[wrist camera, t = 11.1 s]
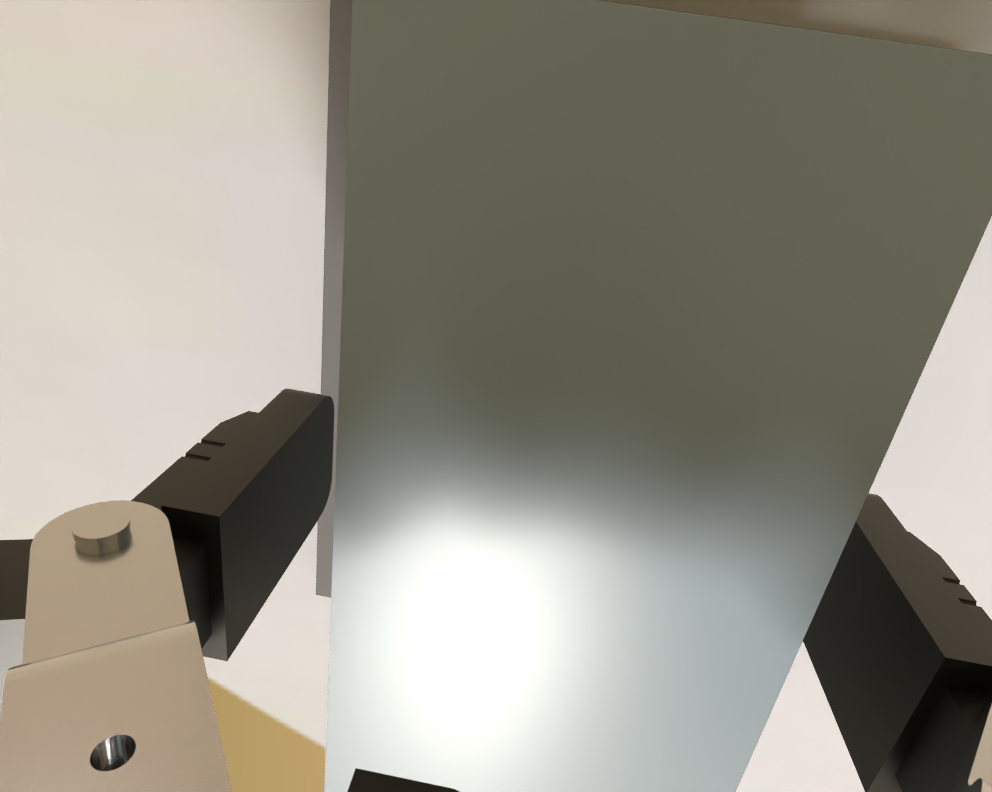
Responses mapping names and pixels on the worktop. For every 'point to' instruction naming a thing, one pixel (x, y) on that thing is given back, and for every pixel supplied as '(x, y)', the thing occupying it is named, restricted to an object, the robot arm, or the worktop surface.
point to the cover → (619, 372)
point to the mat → (334, 254)
